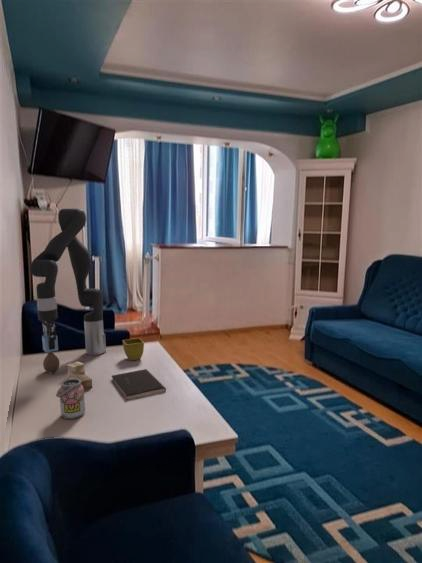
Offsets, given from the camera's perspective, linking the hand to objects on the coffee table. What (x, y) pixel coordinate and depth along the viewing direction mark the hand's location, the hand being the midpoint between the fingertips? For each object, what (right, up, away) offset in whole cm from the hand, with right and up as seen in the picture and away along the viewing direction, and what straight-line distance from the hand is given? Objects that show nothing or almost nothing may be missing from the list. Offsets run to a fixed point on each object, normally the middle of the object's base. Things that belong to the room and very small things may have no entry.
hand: (50, 347), depth 175 cm
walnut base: (+14, -16, -4) cm, 21 cm away
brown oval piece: (-5, -13, +15) cm, 21 cm away
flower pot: (+29, -10, +30) cm, 43 cm away
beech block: (+9, -14, +7) cm, 18 cm away
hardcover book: (+37, -16, -2) cm, 40 cm away
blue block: (0, -1, 0) cm, 1 cm away
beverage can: (+18, -20, -27) cm, 38 cm away
